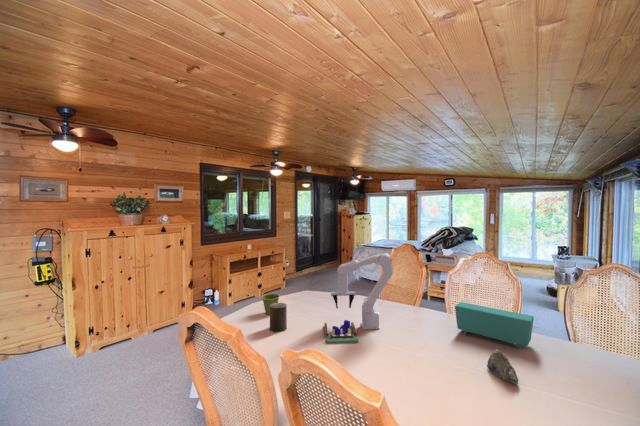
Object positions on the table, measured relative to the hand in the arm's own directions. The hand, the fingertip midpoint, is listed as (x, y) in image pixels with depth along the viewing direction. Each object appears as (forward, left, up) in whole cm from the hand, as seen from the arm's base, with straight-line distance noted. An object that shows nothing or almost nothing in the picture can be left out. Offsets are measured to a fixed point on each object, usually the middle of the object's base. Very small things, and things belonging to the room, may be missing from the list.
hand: (343, 307), depth 173 cm
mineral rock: (-58, +57, -10) cm, 82 cm away
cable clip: (+3, +13, -10) cm, 17 cm away
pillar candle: (+38, +4, -10) cm, 40 cm away
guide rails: (+3, +10, -10) cm, 14 cm away
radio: (-75, +23, -10) cm, 79 cm away
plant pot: (+46, -21, -10) cm, 52 cm away
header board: (+3, +21, -10) cm, 24 cm away
